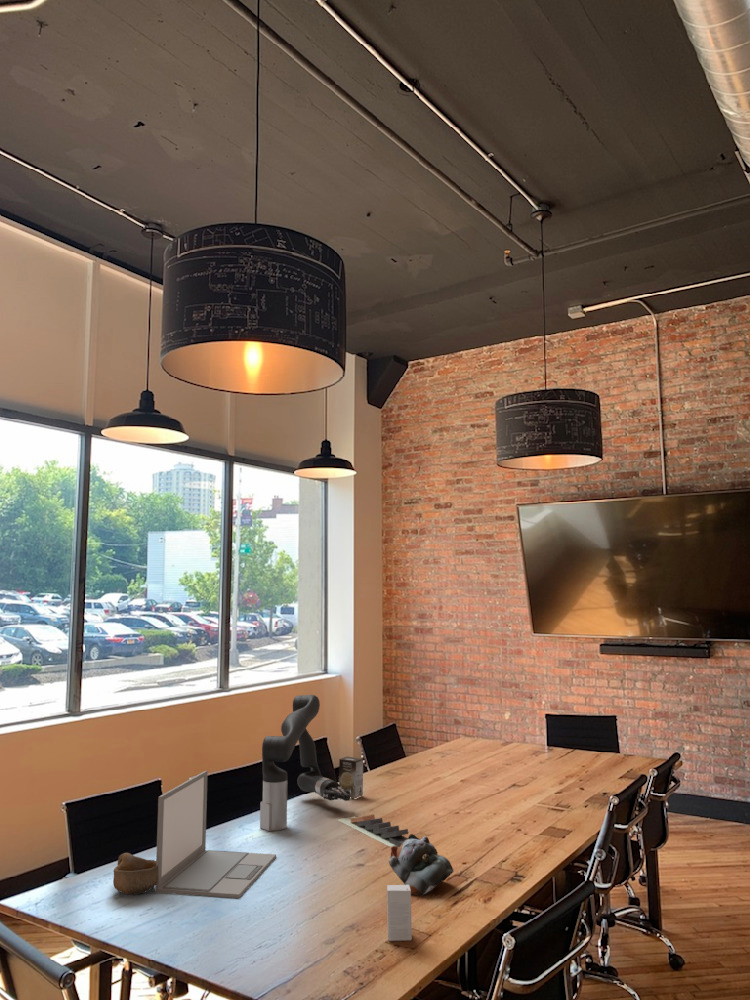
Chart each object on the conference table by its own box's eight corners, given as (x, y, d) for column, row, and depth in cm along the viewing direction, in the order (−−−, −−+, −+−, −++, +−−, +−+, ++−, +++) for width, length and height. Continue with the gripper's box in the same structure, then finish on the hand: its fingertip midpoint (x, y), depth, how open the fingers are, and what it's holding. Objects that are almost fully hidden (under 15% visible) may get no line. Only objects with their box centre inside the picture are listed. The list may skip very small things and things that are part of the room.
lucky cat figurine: (417, 900, 214) (392, 846, 219) (399, 904, 224) (376, 852, 230) (462, 872, 222) (438, 821, 228) (443, 877, 233) (420, 828, 238)
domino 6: (389, 837, 265) (405, 845, 257) (401, 835, 268) (417, 842, 259) (389, 842, 265) (405, 850, 256) (401, 839, 267) (417, 847, 259)
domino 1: (350, 818, 288) (362, 816, 281) (361, 816, 291) (374, 814, 283) (350, 822, 288) (363, 820, 280) (362, 820, 290) (374, 818, 283)
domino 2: (357, 821, 284) (370, 820, 276) (368, 819, 286) (382, 818, 279) (358, 826, 283) (371, 824, 276) (369, 824, 286) (382, 822, 278)
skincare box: (410, 933, 193) (410, 884, 195) (411, 941, 189) (411, 890, 190) (386, 933, 193) (386, 884, 195) (387, 941, 189) (387, 890, 190)
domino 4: (372, 829, 274) (386, 827, 267) (384, 827, 277) (398, 825, 269) (373, 834, 274) (387, 832, 266) (385, 831, 276) (399, 830, 269)
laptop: (239, 899, 216) (241, 800, 220) (154, 893, 221) (157, 796, 224) (276, 858, 250) (277, 773, 254) (202, 854, 255) (204, 770, 258)
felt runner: (336, 820, 292) (336, 819, 292) (359, 816, 297) (359, 815, 297) (389, 847, 260) (389, 846, 260) (413, 842, 265) (413, 841, 265)
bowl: (89, 886, 222) (99, 849, 225) (127, 886, 232) (136, 851, 235) (126, 900, 211) (135, 861, 215) (165, 899, 221) (173, 862, 225)
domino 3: (364, 825, 279) (378, 823, 271) (376, 823, 282) (390, 821, 274) (365, 830, 278) (379, 828, 271) (377, 828, 281) (390, 826, 273)
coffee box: (338, 797, 327) (338, 758, 329) (346, 793, 333) (346, 756, 335) (355, 799, 322) (355, 761, 324) (363, 796, 328) (363, 758, 330)
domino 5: (381, 833, 269) (395, 831, 262) (393, 831, 272) (407, 828, 264) (382, 838, 269) (396, 836, 261) (393, 836, 271) (408, 833, 264)
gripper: (313, 781, 308) (333, 790, 293) (341, 777, 314) (362, 785, 300) (313, 800, 307) (333, 810, 292) (341, 795, 313) (362, 805, 299)
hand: (347, 798), depth 296 cm, fingers closed
